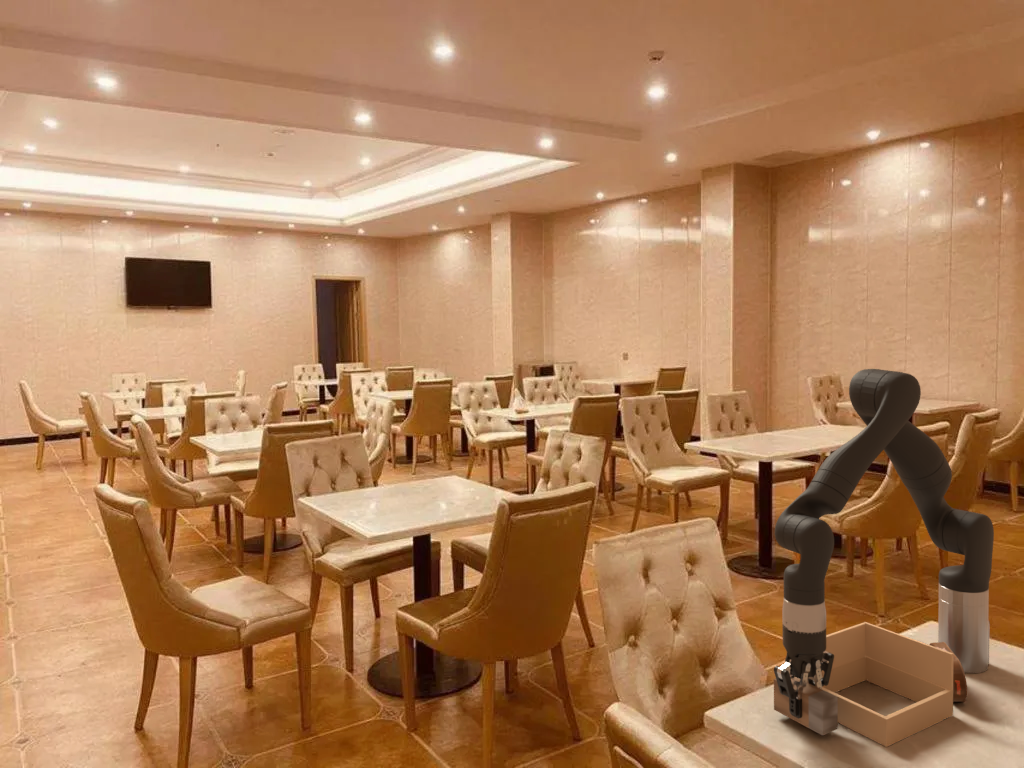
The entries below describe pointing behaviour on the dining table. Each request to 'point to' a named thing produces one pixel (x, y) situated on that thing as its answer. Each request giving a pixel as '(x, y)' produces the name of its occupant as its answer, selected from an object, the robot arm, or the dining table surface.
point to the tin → (955, 675)
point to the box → (811, 708)
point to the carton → (890, 680)
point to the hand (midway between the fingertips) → (804, 712)
